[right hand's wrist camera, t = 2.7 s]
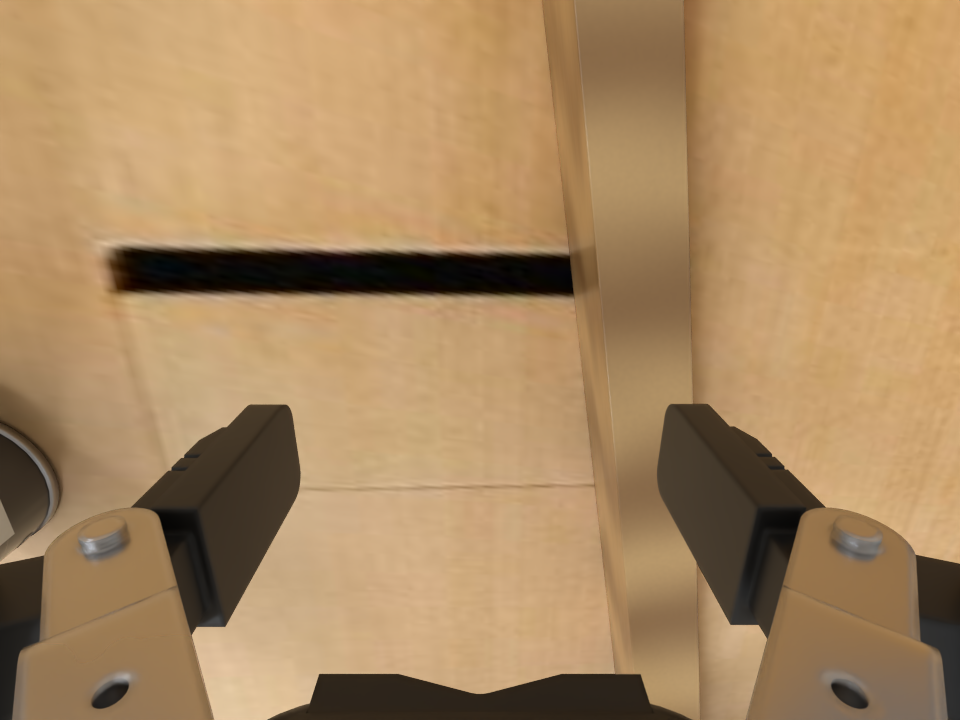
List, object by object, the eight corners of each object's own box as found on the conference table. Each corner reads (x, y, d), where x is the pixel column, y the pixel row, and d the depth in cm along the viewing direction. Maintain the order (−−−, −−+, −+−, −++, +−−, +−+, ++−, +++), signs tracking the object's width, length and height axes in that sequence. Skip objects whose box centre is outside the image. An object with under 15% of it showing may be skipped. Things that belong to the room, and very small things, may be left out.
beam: (482, -544, 18) (492, -906, 12) (595, -570, 18) (663, -951, 12) (629, 809, 47) (654, 906, 41) (673, 803, 47) (704, 900, 41)
